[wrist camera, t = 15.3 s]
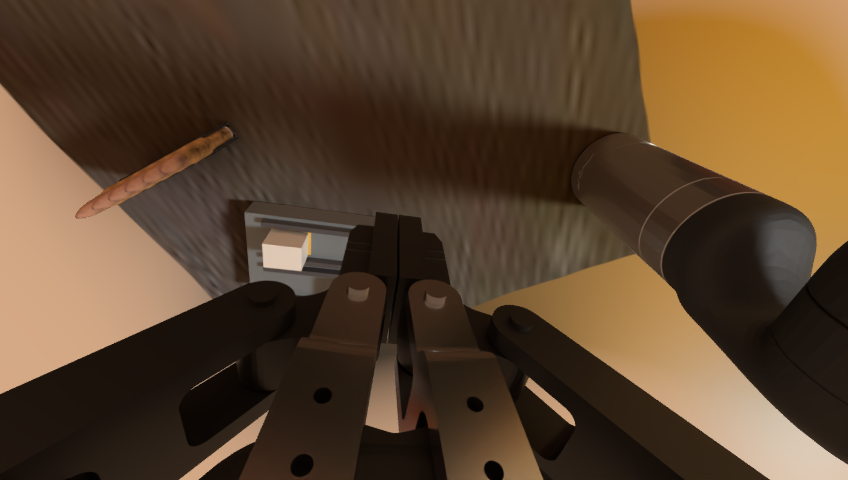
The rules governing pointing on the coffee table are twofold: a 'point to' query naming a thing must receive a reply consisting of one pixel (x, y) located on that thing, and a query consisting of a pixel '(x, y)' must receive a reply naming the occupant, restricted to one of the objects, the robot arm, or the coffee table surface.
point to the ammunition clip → (161, 169)
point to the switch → (285, 250)
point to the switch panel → (323, 243)
